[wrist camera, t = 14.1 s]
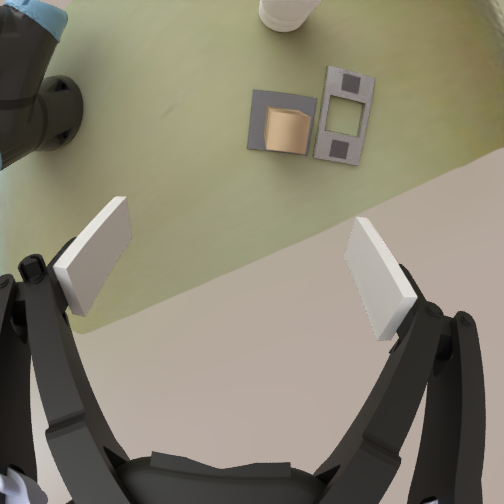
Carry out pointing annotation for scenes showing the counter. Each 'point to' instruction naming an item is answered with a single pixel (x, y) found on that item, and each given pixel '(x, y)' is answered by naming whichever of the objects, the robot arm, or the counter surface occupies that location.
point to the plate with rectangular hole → (337, 85)
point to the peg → (286, 130)
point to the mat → (282, 101)
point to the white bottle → (285, 13)
